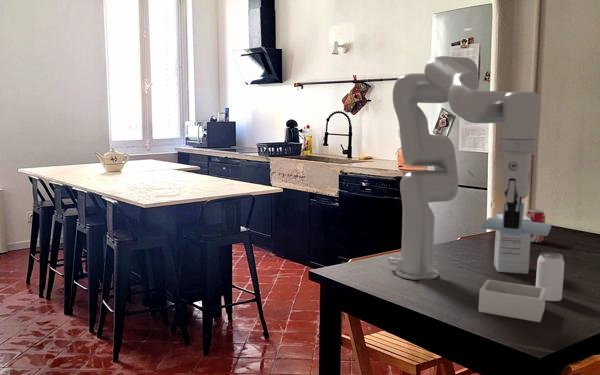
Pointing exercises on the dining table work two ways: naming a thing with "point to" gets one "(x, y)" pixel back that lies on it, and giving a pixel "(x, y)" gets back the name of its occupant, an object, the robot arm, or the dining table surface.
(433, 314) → the dining table surface
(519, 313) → the tub
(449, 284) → the dining table surface
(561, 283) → the can
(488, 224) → the lid
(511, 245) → the supplement box
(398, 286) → the dining table surface
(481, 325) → the dining table surface
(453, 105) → the robot arm
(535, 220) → the soda can
